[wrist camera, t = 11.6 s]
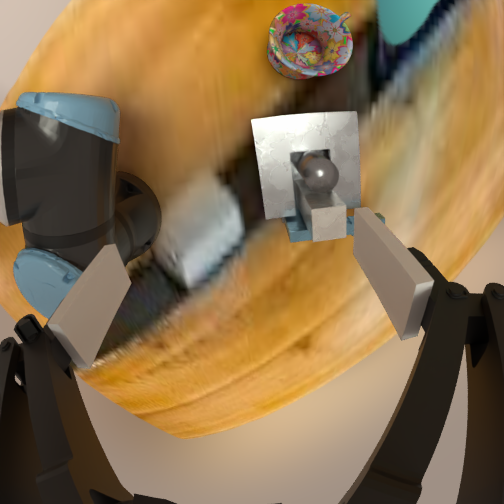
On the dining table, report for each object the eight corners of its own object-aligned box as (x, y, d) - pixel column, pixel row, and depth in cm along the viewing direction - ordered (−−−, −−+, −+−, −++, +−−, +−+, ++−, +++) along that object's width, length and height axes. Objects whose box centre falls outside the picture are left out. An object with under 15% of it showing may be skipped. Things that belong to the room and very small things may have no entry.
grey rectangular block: (296, 204, 42) (313, 241, 32) (294, 179, 40) (311, 209, 30) (322, 201, 42) (346, 237, 31) (320, 176, 40) (346, 205, 29)
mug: (295, 94, 35) (311, 91, 26) (249, 51, 32) (250, 33, 23) (352, 50, 31) (383, 37, 22) (309, 6, 28) (328, -19, 18)
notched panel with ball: (266, 221, 45) (271, 256, 35) (250, 118, 37) (251, 122, 27) (362, 209, 44) (390, 239, 34) (358, 109, 36) (392, 114, 26)
